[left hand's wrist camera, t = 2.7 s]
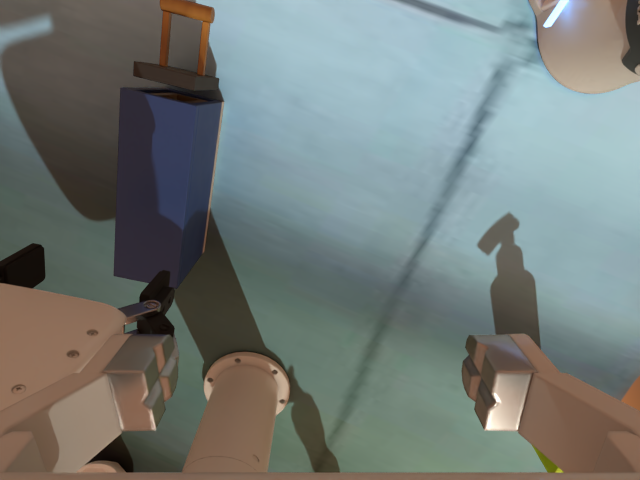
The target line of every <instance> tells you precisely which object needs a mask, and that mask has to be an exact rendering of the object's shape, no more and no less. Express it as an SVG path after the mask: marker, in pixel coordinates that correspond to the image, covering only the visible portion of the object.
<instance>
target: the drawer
mask: <svg viewBox="0 0 640 480" xmlns="http://www.w3.org/2000/svg"><path fill="white" fill-rule="evenodd" d="M160 7H161V10H162V11H163V20H162V34H161V48H160V63H159V65H158V64H151V63H144V62H136V61H134V71H133V76H136V77H140V78H144V79H148V80H152V81H156V82H160V83H164V84H168V85H173V86H177V87H181V88H185V89H189V90H193V91H198V90H218V84H219V78H216V77H212V76H208V75H205V67H206V58H207V49H208V40H209V31H210V23H213V21H214V16H215V12H214V8H213V7H209V6H205V5H201V4H198V3H194V2H190V1H186V0H160ZM172 13H173V14H177V15H181V16H185V17H189V18H192V19H196V20H200V21H203V22H202V31H201V41H200V50H199V60H198V69H197V73H196V72H192V71H188V70H183V69H179V68H175V67H171V66H168V55H169V42H170V29H171V16H172ZM149 94H153V95H158V96H162V97H166V98H170V99H174V100H178V101H182V102H187V103H199V102H207V101H206V100H201V99H197V98H193V97H189V96H185V95H181V94H177V93H149Z"/></svg>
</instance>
